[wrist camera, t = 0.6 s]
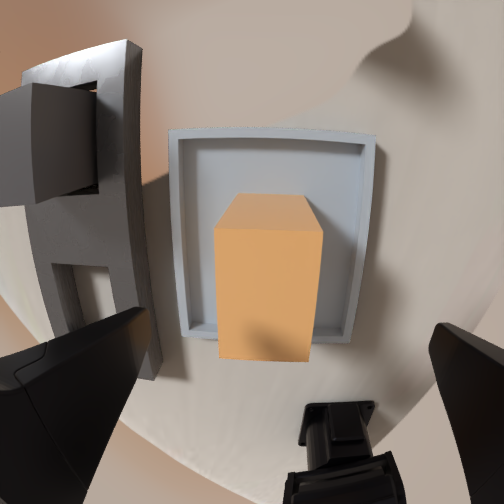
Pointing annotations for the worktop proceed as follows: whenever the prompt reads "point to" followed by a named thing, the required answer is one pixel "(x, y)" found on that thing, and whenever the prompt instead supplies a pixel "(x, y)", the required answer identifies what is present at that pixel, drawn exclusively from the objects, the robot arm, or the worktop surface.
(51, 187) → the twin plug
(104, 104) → the grey slotted frame
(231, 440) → the worktop surface
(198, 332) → the tray
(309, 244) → the orange block
